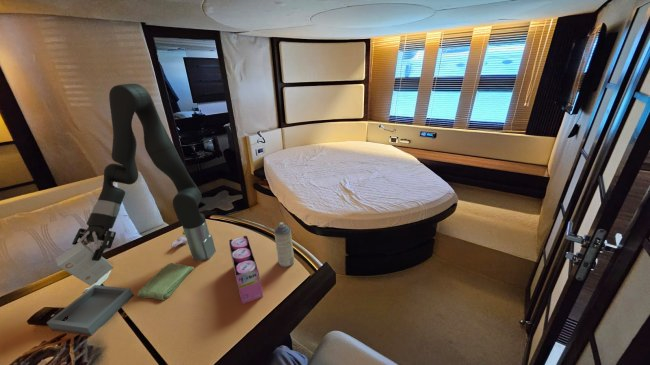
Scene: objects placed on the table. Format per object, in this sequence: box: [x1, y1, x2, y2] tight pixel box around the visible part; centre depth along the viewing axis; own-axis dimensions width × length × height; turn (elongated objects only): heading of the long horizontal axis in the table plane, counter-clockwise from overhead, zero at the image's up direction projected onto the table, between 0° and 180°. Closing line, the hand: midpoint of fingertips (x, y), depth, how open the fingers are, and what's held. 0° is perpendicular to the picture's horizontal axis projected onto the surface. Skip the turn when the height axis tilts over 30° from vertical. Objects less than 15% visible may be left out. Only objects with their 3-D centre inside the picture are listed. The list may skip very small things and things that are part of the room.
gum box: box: [228, 235, 264, 305], centre depth 97 cm, size 24×8×14 cm, turn 25°
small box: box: [54, 241, 114, 287], centre depth 87 cm, size 8×6×13 cm
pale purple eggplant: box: [170, 230, 188, 249], centre depth 124 cm, size 6×6×15 cm
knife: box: [84, 269, 112, 293], centre depth 102 cm, size 30×2×8 cm
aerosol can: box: [273, 221, 295, 268], centre depth 104 cm, size 7×7×20 cm
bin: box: [46, 284, 134, 336], centre depth 88 cm, size 16×16×4 cm
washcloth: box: [136, 262, 195, 301], centre depth 100 cm, size 13×18×3 cm
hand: (85, 259), depth 87 cm, fingers closed on small box, 8 cm apart
